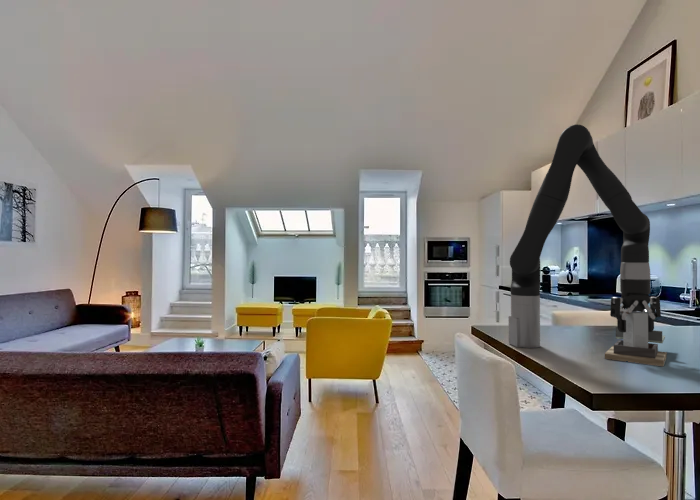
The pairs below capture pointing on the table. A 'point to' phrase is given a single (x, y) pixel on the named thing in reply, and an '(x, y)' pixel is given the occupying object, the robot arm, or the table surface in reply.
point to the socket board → (637, 354)
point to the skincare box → (636, 330)
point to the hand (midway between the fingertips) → (635, 331)
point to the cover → (652, 336)
